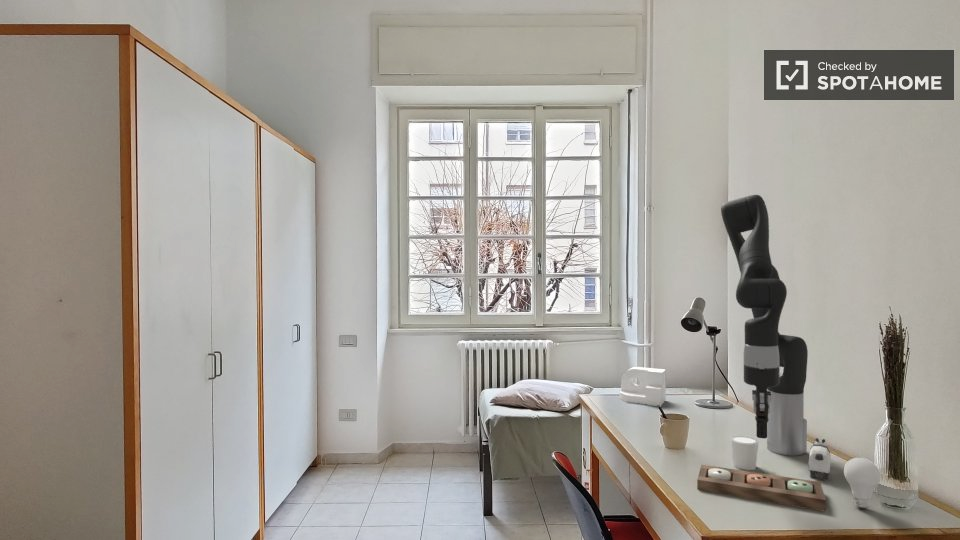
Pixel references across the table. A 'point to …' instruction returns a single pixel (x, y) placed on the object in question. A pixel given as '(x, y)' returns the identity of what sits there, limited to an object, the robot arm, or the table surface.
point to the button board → (763, 489)
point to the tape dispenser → (644, 386)
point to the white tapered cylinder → (744, 452)
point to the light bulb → (861, 480)
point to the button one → (719, 474)
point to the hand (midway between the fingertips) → (761, 437)
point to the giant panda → (819, 459)
